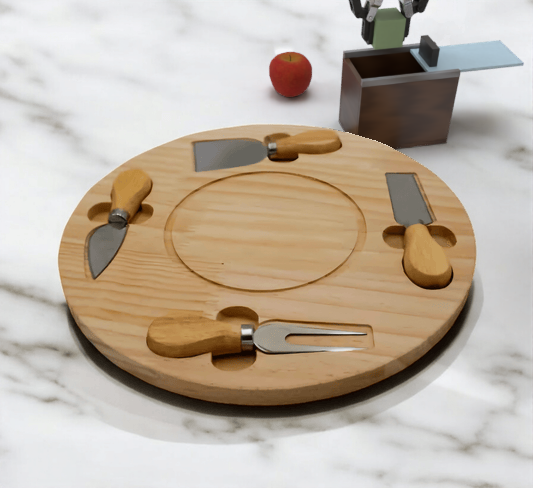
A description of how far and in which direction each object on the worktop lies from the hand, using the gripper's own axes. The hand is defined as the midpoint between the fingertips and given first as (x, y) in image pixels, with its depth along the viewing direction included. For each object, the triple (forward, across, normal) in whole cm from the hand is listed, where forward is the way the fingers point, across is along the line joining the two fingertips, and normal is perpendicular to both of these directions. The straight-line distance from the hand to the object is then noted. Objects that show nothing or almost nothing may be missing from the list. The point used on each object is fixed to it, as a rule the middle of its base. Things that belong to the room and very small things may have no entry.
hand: (384, 40), depth 99 cm
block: (0, 0, 0) cm, 0 cm away
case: (+17, +3, 0) cm, 17 cm away
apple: (+17, -11, +17) cm, 26 cm away
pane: (+4, +14, 0) cm, 15 cm away
